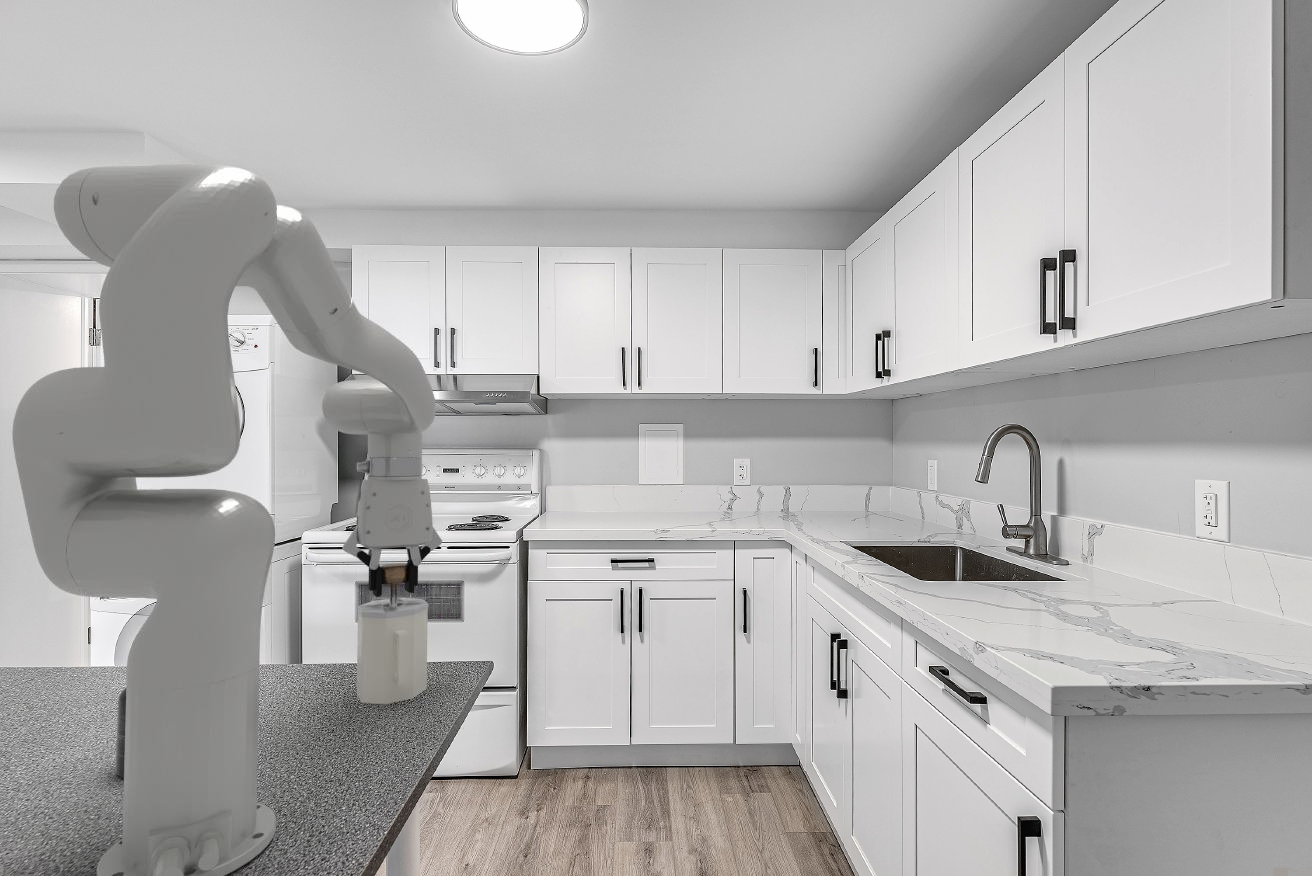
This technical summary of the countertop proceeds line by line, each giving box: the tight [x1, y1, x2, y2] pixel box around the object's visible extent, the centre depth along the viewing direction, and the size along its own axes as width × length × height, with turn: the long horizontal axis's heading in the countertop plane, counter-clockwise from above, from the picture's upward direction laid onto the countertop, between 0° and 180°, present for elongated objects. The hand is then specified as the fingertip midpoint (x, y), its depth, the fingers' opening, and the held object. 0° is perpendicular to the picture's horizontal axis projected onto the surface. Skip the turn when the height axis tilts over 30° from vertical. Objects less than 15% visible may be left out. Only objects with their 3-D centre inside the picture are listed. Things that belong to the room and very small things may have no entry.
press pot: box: [356, 597, 429, 705], centre depth 93 cm, size 12×9×13 cm
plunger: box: [380, 563, 408, 607], centre depth 95 cm, size 4×4×17 cm
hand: (393, 592), depth 95 cm, fingers closed on plunger, 3 cm apart
